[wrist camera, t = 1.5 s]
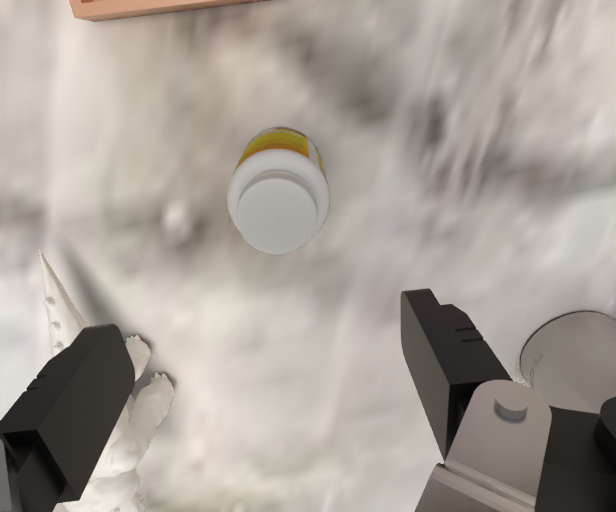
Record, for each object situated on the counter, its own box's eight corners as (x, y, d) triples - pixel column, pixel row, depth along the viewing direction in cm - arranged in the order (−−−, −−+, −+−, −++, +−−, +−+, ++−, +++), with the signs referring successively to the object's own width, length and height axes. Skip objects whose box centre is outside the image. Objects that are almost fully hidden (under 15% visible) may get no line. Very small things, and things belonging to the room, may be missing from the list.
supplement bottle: (226, 160, 28) (193, 210, 19) (287, 108, 27) (284, 134, 17) (277, 218, 30) (270, 288, 21) (336, 173, 29) (357, 226, 19)
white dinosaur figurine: (140, 460, 40) (83, 584, 30) (33, 238, 32) (-99, 303, 21) (205, 448, 40) (170, 570, 29) (114, 221, 31) (20, 278, 21)
